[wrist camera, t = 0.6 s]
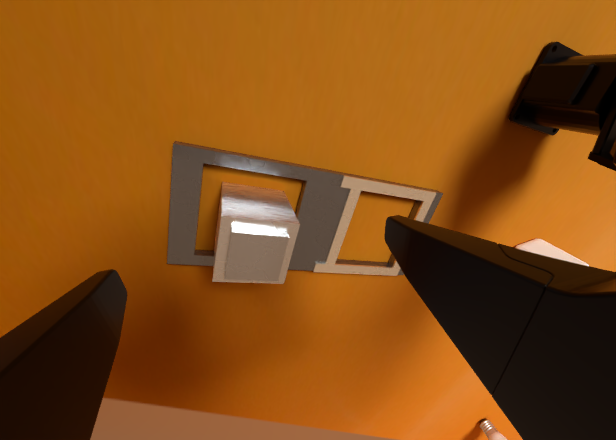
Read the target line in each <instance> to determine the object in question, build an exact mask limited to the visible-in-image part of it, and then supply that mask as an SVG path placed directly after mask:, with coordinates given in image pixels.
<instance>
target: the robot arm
mask: <svg viewBox="0 0 616 440" xmlns="http://www.w3.org/2000/svg"><path fill="white" fill-rule="evenodd" d="M515 116H516V117H515ZM509 121H510V122H513V123H516V124H519V125H522V126H525V127H528V128H530V129H533V130H536V131H539V132H542V133H545V134H548V135H555V134H556V133H557V132H558V130H559V129H563V130H569V131H575V132H581V133H587V134H593V135H599V136H598V138H597V141H596V143H595V146H594V148H593V150H592V152H590V154H589V157H588V159H590V160H592V161H594V162H597V163H598V164H600V165H602V166H605V167H607V168H610V169H612V170H614V171H616V54H612V55H589V56H583V55H581V54H579V53H578V52H576V51H574V50H572V49H570V48H568V47H566V46H565V45H563V44H561V43H559V42H551V43H549V44H548V45H547V46H546V48H545V50H544V52H543V54H542V55H541V57H540V59H539V61H538V63H537V65H536V67H535V69H534V70H533V72H532V74H531V76H530V78H529V80H528V82H527V84H526V86H525V87H524V89H523V91H522V93H521V95H520V97H519V99H518V101H517V103H516V104H515V106H514V108H513V110H512V112H511V114H510V116H509ZM385 241H386V244H387V245H388V247H389V249H390V251H391V252H392V254H393V256H394V258H395V260H396V261H397V263H398V265H399V267H400V268H401V270H402V272H403V273H404V275H405V276H406V278H407V279H408V281H409V282H410V283H411V285H412V286H413V288H414V289H415V290H416V292H417V293H418V295H419V296H420V297H421V299H422V300H423V301H424V303H425V304H426V306H427V307H428V308H429V310H430V311H431V313H432V314H433V315H434V317H435V318H436V319H437V321H438V322H439V324H440V325H441V326H442V328H443V329H444V330H445V332H446V333H447V335H448V336H449V337H450V339H451V340H452V342H453V343H454V344H455V346H456V347H457V348H458V350H459V351H460V353H461V354H462V355H463V357H464V358H465V360H466V361H467V362H468V364H469V365H470V366H471V368H472V369H473V371H474V372H475V373H476V375H477V376H478V378H479V379H480V380H481V382H482V383H483V384H484V386H485V387H486V389H487V390H488V391H489V393H490V394H491V395H492V397H493V399H494V400H495V401H496V403H497V404H498V406H499V407H500V408H501V410H502V411H503V412H504V414H505V415H506V417H507V418H508V419H509V421H510V422H511V423H512V425H513V426H514V428H515V429H516V430H517V432H518V433H519V435H520V436H521V437H522V439H523V440H616V272H612V271H607V270H602V269H598V268H594V267H590V266H585V265H581V264H577V263H573V262H569V261H564V260H560V259H556V258H552V257H548V256H544V255H540V254H536V253H531V252H528V251H524V250H520V249H517V248H513V247H509V246H506V245H502V244H497V243H495V242H491V241H488V240H484V239H481V238H477V237H474V236H470V235H467V234H463V233H460V232H456V231H453V230H449V229H445V228H442V227H438V226H435V225H431V224H428V223H424V222H421V221H417V220H414V219H410V218H407V217H403V216H400V215H396V216H390V217H388V218H387V220H386V226H385ZM126 301H127V290H126V288H125V286H124V284H123V282H122V280H121V278H120V276H119V274H118V273H117V271H116V270H113V269H111V270H105V271H100V272H97V273H96V274H94V275H93V276H91V277H90V278H88V279H87V280H85V281H84V282H82V283H81V284H79V285H78V286H77V287H75V288H74V289H72V290H71V291H69V292H68V293H66V294H65V295H63V296H62V297H60V298H59V299H57V300H56V301H54V302H53V303H51V304H50V305H48V306H47V307H45V308H44V309H42V310H41V311H39V312H38V313H36V314H35V315H33V316H32V317H31V318H29V319H28V320H26V321H25V322H23V323H22V324H20V325H19V326H17V327H16V328H14V329H13V330H11V331H10V332H8V333H7V334H5V335H4V336H2V337H1V338H0V440H90V438H91V435H92V431H93V428H94V425H95V422H96V418H97V415H98V411H99V408H100V405H101V402H102V398H103V395H104V392H105V388H106V385H107V382H108V378H109V375H110V372H111V368H112V365H113V362H114V358H115V355H116V352H117V348H118V345H119V340H120V336H121V330H122V324H123V318H124V312H125V307H126Z"/></svg>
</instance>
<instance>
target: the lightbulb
mask: <svg viewBox="0 0 616 440" xmlns="http://www.w3.org/2000/svg"><path fill="white" fill-rule="evenodd" d="M480 428H482V430H483V432H485V434H486V436H487V437H488V439H489V440H508V439H506V438H505V437H504V436H503V435H502V434H501V433H500V432H498V430H497V429H496V428H495V426H493V424H492V423H491V422H490V420H486V419H483V420H482V421H481V423H480Z"/></svg>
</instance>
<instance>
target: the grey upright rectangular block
mask: <svg viewBox="0 0 616 440" xmlns="http://www.w3.org/2000/svg"><path fill="white" fill-rule="evenodd" d="M299 226H300V224H299V222H298V219H297V217H296V215H295V213H294V211H293V209H292V207H291V205H290V203H289V201H288V199H287V197H286V195H285V193H284V191H280V190H273V189H267V188H260V187H253V186H247V185H240V184H233V183H227V182H222V189H221V197H220V204H219V212H218V219H217V227H216V235H215V248H214V264H213V280H212V282H240V283H274V284H284V281H285V278H286V274H287V270H288V267H289V263H290V259H291V256H292V252H293V248H294V245H295V241H296V237H297V234H298V230H299Z"/></svg>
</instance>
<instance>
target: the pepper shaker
mask: <svg viewBox="0 0 616 440" xmlns="http://www.w3.org/2000/svg"><path fill="white" fill-rule="evenodd" d="M515 248H517V249H520V250H524V251H528V252H531V253H536V254H540V255H544V256H548V257H552V258H556V259H560V260H564V261H569V262H573V263H577V264H581V265H585V266H589V265H588V264H587V263H585V262H583V261H581V260H580V259H578V258H576V257H574V256H572V255H570V254H568V253H566V252H564V251H563V250H561V249H559V248H557V247H555V246H553V245H551V244H549V243H547V242H546V241H544V240H542V239H534V240H531V241H528V242H525V243H522V244H519V245H517V246H516V247H515Z"/></svg>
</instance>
